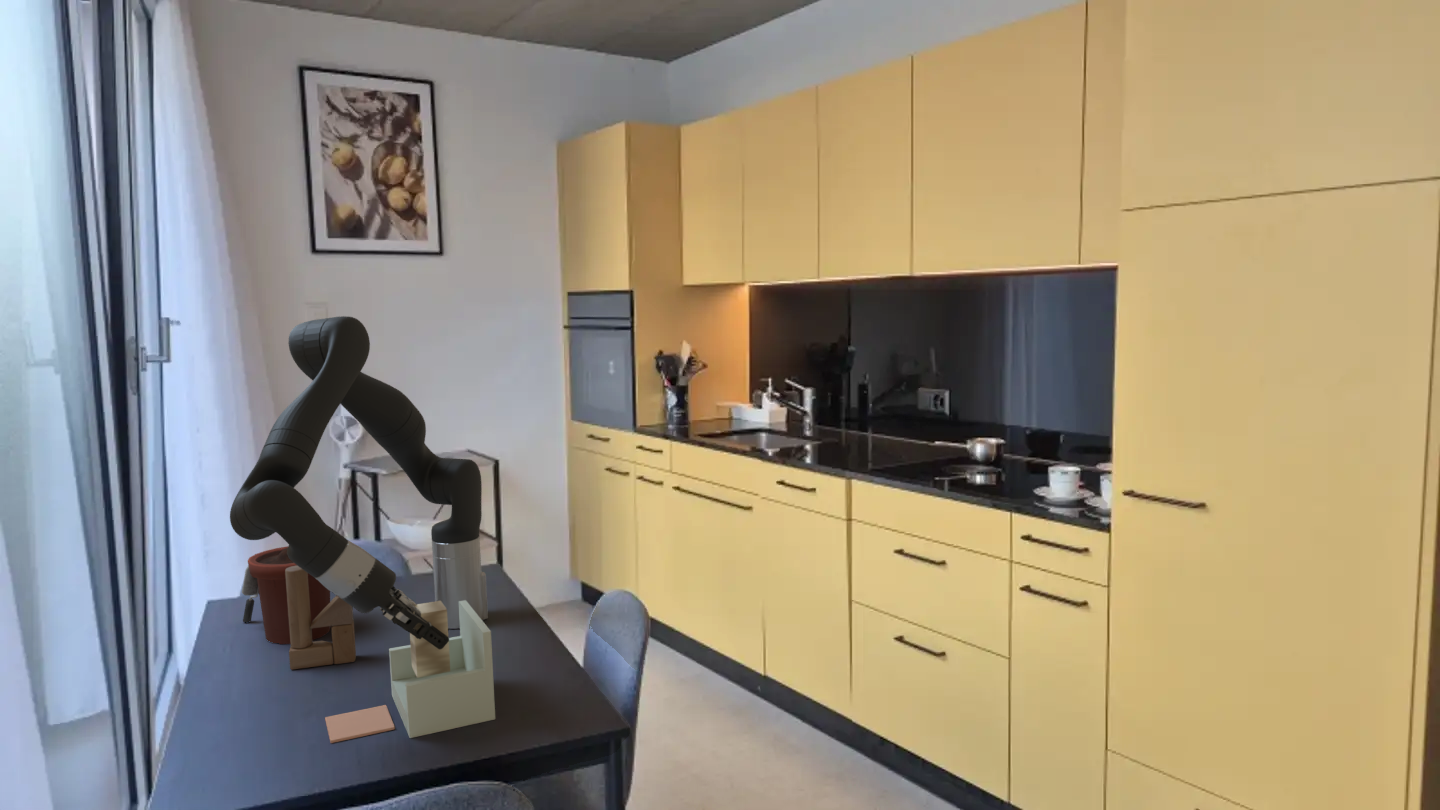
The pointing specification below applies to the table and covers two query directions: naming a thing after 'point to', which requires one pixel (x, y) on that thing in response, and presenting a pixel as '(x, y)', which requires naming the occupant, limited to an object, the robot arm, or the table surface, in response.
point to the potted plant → (278, 594)
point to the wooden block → (317, 626)
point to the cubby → (447, 682)
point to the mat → (359, 723)
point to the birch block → (425, 653)
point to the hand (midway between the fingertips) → (441, 638)
